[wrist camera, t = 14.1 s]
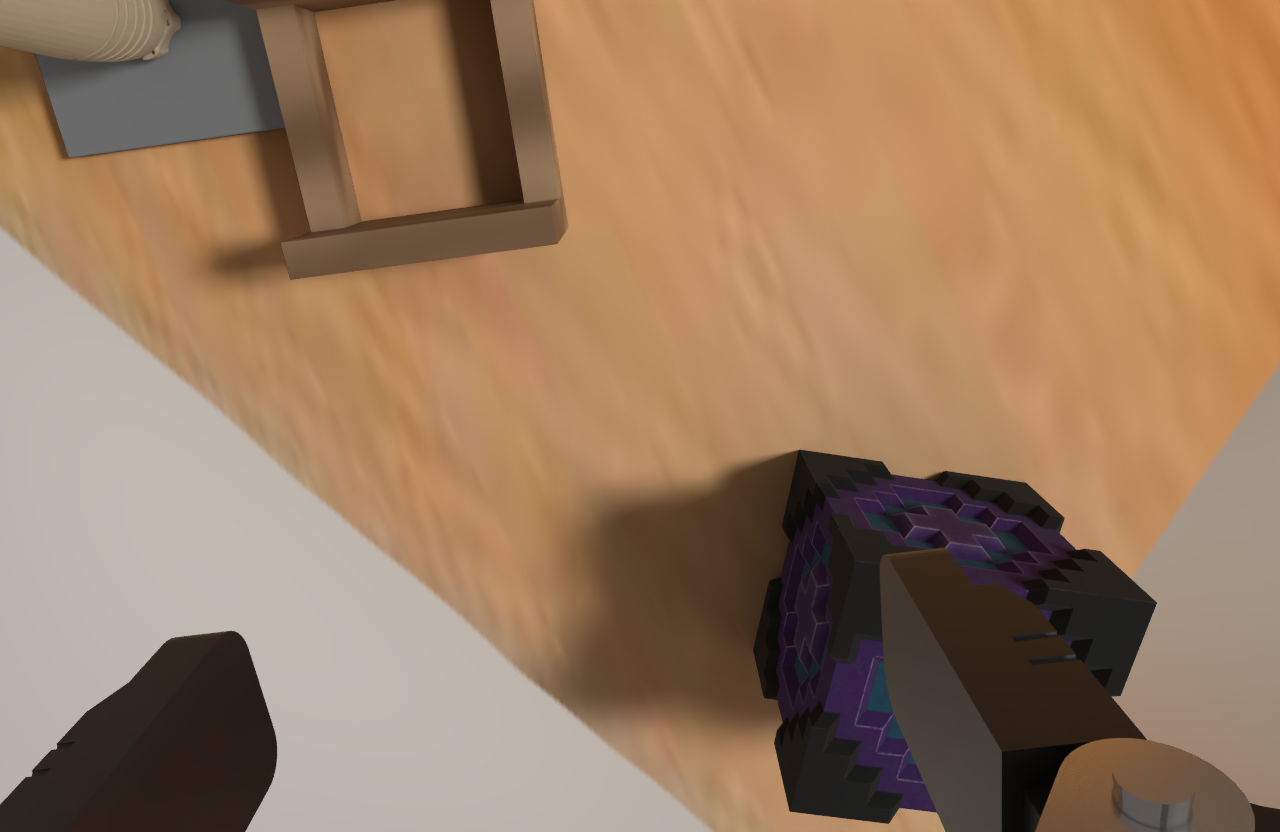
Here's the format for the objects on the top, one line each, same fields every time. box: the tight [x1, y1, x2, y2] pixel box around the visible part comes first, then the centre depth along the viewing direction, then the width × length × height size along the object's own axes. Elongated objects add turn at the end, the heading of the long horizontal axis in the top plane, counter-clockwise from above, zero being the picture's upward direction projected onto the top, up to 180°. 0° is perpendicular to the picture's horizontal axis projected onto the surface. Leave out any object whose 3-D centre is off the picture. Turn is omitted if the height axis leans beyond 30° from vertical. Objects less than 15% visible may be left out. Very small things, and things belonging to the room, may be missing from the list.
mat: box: [35, 0, 285, 157], centre depth 38 cm, size 10×10×1 cm
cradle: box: [225, 0, 568, 280], centre depth 36 cm, size 12×11×6 cm
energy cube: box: [753, 450, 1157, 824], centre depth 41 cm, size 12×12×12 cm
